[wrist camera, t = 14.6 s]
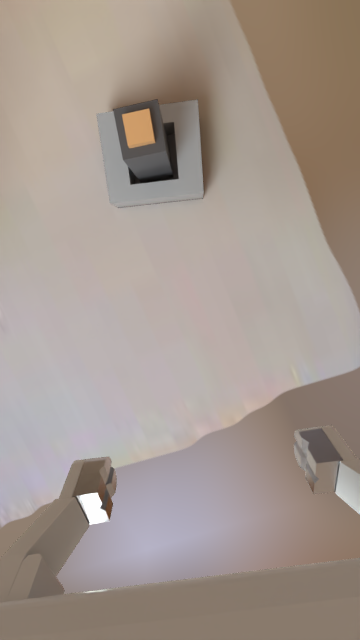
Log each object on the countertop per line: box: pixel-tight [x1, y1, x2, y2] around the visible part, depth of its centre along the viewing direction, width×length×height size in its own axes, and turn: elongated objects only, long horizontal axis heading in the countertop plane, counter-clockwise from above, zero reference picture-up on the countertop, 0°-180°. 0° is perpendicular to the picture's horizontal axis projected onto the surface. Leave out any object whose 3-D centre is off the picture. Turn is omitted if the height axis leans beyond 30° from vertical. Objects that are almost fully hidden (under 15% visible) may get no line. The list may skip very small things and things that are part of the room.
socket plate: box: [97, 99, 204, 208], centre depth 30 cm, size 11×9×4 cm
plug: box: [113, 99, 174, 183], centre depth 27 cm, size 4×4×10 cm
